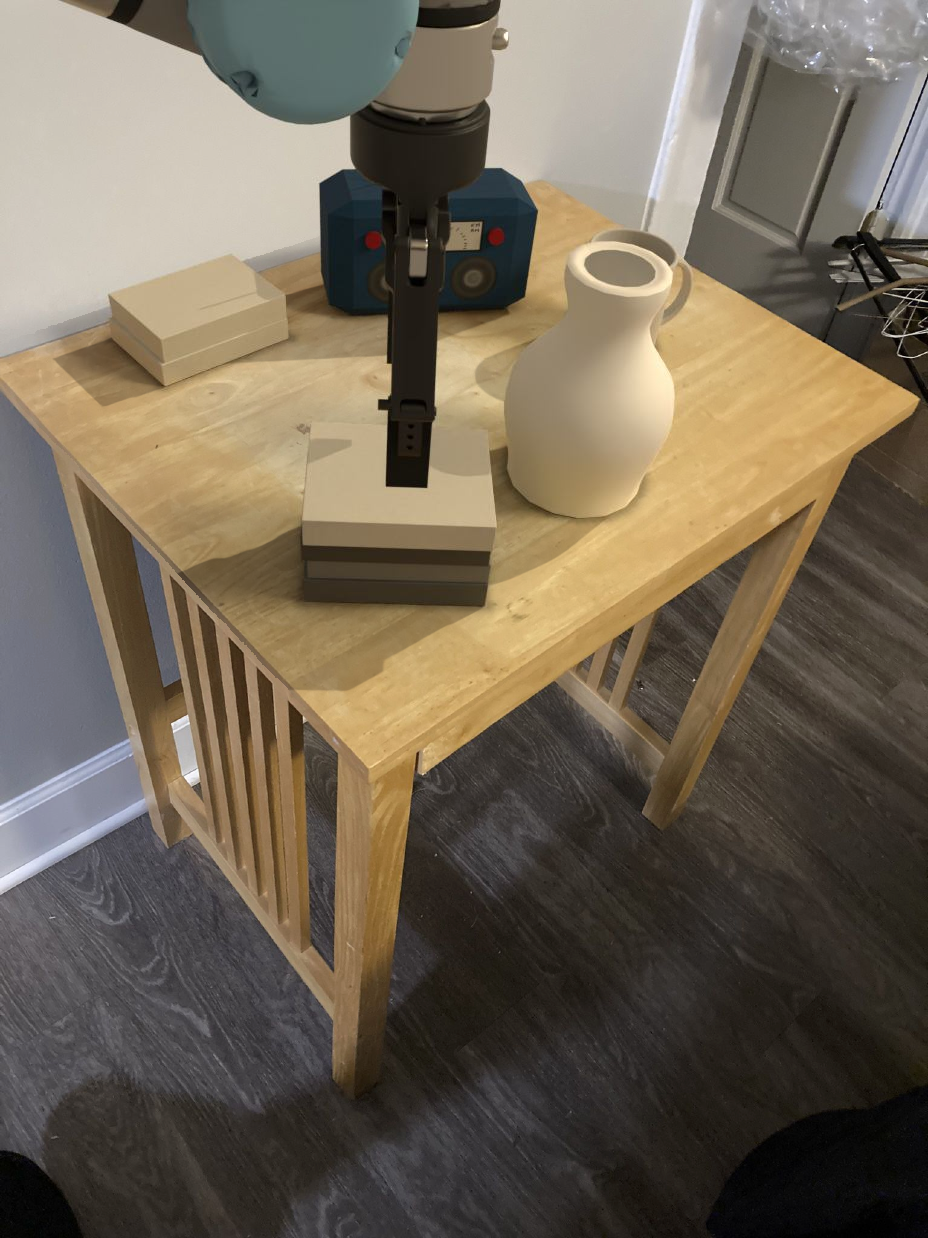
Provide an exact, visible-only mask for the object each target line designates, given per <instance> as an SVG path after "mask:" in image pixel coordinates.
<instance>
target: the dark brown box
mask: <svg viewBox="0 0 928 1238" xmlns="http://www.w3.org/2000/svg"><path fill="white" fill-rule="evenodd" d="M307 457H308V455H307ZM307 457H306V458H307ZM306 468H307V466H306ZM304 479H306V476H305V478H304ZM304 490H305V487H304V489H303V491H304ZM303 501H304V498H303V500H302V502H303ZM302 512H303V509H302V511H301V513H302ZM299 533H300V534H299V538H300V539H299V540H300V541H299V542H300V543H299V544H300V560H301V561H302V562H303V566H302V567H303V568H302V579H301V583H302V601H303V602H322V603H358V604H392V605H393V604H396V605H397V604H398V605H427V606H429V605H430V606H431V605H434V606H465V607H466V606H470V607H471V606H472V607H485V606H486V601H487V595H488V590H489V581H490V575H491V567H492V559H491V554H492V551H468V550H437V549H407V548H376V547H346V546H315V545H303V539H302V520H301V522H300V532H299Z"/></svg>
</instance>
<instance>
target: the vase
mask: <svg viewBox="0 0 928 1238" xmlns="http://www.w3.org/2000/svg"><path fill="white" fill-rule="evenodd" d="M672 276H673V272H672V270H671V269H670V267H669V266H668V264H667V263H666V261H664V260H663V259H661V258H660V257H658V256H657V255H656V254H654V253H653V252H651V251H648V250H646V249H643V248H641V247H638V246H635V245H632V244H626V243H621V242H615V241H603V242H591V243H589V242H588V243H584V244H580V245H578V246H577V247H576V248H574V249H572V250H571V251H570V252H569V253H568V255H567V259H566V263H565V268H564V275H563V277H564V278H563V281H564V282H563V283H564V288H565V294H566V300H567V301H566V302H567V308H566V309H567V310H566V312H565V313H564V315H563V317H562V318H561V319H560V320H559V322H558V323H557V324H555V325H553V326H552V327H550V328H549V329H547V330H546V331H545V332H543V333H542V334H540V335H539V336H537V338H535V339H534V340H533V341H532V342H531V343H529V344H528V345H527V346H526V347H525V348H524V349H523V351H521V352H520V353H519V355H518V356H517V358H516V359H515V361H514V362H513V365H512V369H511V371H510V374H509V378H508V381H507V382H508V383H507V386H506V390H505V393H504V394H505V395H504V400H503V415H504V416H503V417H504V427H505V433H506V442H507V463H506V471H507V473H508V476H509V479H510V481H511V484H512V486H513V487H514V488H515V489H516V490H517V491H518V492H519V493H520V494H521V496H523V497H524V498H525V499H526V500H527V501H528V502H529V503H531V504H533V505H535V506H537V507H539V508H542V509H543V510H545V511H547V512H549V513H551V514H555V515H559V516H566V517H572V518H577V519H587V518H599V517H601V518H602V517H606V516H609V515H611V514H614V513H617V512H618V511H620V510H623V509H625V508H627V506H628V505H629V504H630V502H631V501H632V500H633V499H634V498H635V497H636V496H637V494H638V493H639V489H640V485H641V483H642V482H643V479H644V477H645V475H646V473H647V472H648V470H649V469H650V467H651V465H652V464H653V462H654V461H655V460H656V458H657V456H658V455H659V453H660V452H661V450H662V448H663V447H664V445H665V443H666V441H667V439H668V437H669V435H670V432H671V429H672V426H673V420H674V413H675V398H676V397H675V395H676V393H675V384H674V380H673V377H672V374H671V372H670V371H669V369H668V367H667V365H666V364H665V362H664V360H663V358H662V357H661V355H660V353H659V352H658V350H657V348H656V347H655V346H654V345H653V343H652V339H651V336H650V325H651V323H652V320H653V319H654V317H655V315H656V314H657V312H658V311H659V309H660V308H661V307H662V305H663V304H664V302H665V301H666V299H667V297H668V298H669V295H670V293H671V289H672V285H673V281H672ZM667 300H668V299H667Z"/></svg>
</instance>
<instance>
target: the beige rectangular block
mask: <svg viewBox="0 0 928 1238" xmlns="http://www.w3.org/2000/svg"><path fill="white" fill-rule="evenodd" d="M107 296H108V301H109V306H110V307H109V308H110V312H111V316H110V317H108V318H107V320H108V326H109V329H110V330H109V331H110V335H111V339H112V340H113V341H114V343H116V344H117V345H118V346H119V347H120V348H122V349H123V350H124V351H125V352H126V353H127V354H128V355H129V356H130V357H132V358H133V359H134V360H135V361H136V362H137V363H138V364H139V365H140V366H142V367H143V369H145V370H146V371H147V372H148V373H149V374H150V375H151V376H152V377H154V379H156V380H157V381H158V382H159V383H160V384H161V385H163V386H164V387H167V386H169V385H173V384H175V383H178V382H180V381H182V380H186V379H188V378H190V377H193V376H195V375H199V374H201V373H203V372H206V371H208V370H211V369H213V368H216V367H219V366H221V365H224V364H226V363H229V362H232V361H234V360H237V359H239V358H242V357H245V356H247V355H249V354H251V353H255V352H258V351H260V350H263V349H265V348H267V347H270V346H273V345H275V344H278V343H280V342H283V341H285V340H288V339H289V321H288V317H287V299H286V298H287V297H286V294H285V293H284V292H283V291H281V290H280V289H279V288H277V286H276V285H274V284H272V283H271V282H269V281H268V280H267V279H266V278H264V277H263V276H261V275H260V274H259V273H258V272H256V271H255V270H254V269H252V268H251V267H250V266H248V265H247V264H245V262H243V261H242V260H241V259H239V258H238V257H236V256H235V255H234V254H233V253H230V254H226V255H222V256H220V257H217V258H214V259H211V260H208V261H205V262H202V263H198V264H196V265H193V266H190V267H186V268H184V269H180V270H177V271H174V272H171V273H167V274H165V275H162V276H158V277H155V278H153V279H150V280H147V281H144V282H143V281H142V282H141V283H140V282H139V283H137V284H135V285H131V286H127V287H125V288H122V289H119V290H115V291H112V292H110V293H108V294H107Z"/></svg>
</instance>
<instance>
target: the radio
mask: <svg viewBox="0 0 928 1238" xmlns="http://www.w3.org/2000/svg"><path fill="white" fill-rule="evenodd" d="M318 187H319V188H318V190H319V191H318V193H319V194H318V195H319V197H318V198H319V237H320V238H319V239H320V240H319V243H320V244H319V245H320V246H319V247H320V274H321V278H322V282H323V286H324V290H325V294H326V298H327V302H328V305H329V306H331V307H333V308H335V309H337V310H339V311H340V312H343V313H346V315H349V316H352V317H355V316H377V315H379V316H380V315H381V316H383V315H388V296H389V289H387V287H386V286H385V243H384V242H383V240H382V237H381V228H382V188H385V187H383V186H378V185H376V184H374V183H372V182H370V181H368V180H367V179H365V178H364V177H363V176H362V175H361V174H360V173H359V172H358V171H357V170H356V169H355V168H342V169H341V170H339V171H337V172H335V173H334V174H332V175H330V176H329V177H327V178H325V179H323V180H322V181H320V182H319V183H318ZM448 213H451V233H450V239H449V242H448V244H447V245H446V253H445V282H444V286H443V288H442V290H441V291H440V292H439V312H438V313H451V312H452V313H453V312H477V311H479V312H480V311H501V310H504V309H507V308H508V307H510V306H512V305H513V304H515V303H517V302H519V301H521V300H523V299H525V298H526V293H527V287H528V280H529V273H530V266H531V260H532V254H533V247H534V242H535V241H534V240H535V234H536V229H537V222H538V213H539V209H538V208H537V205H536V204H535V203H534V200H533V199H532V197H531V194H530V193H529V192H528V190H527V187H526V186H525V184H524V183H523V181H522V180H521V179H519V178H518V177H516V176H515V175H513V174H512V173H510V172H509V171H507V170H505V169H504V168H502V167H485V168H484V171H483V173H482V175H481V176H480V177H479V179H478V180H477V181H476V182H474V183H473V184H472V185H470V186H468V187H466V188H464V189H462V190H459V191H452V192H450V193H449V209H448Z"/></svg>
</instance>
